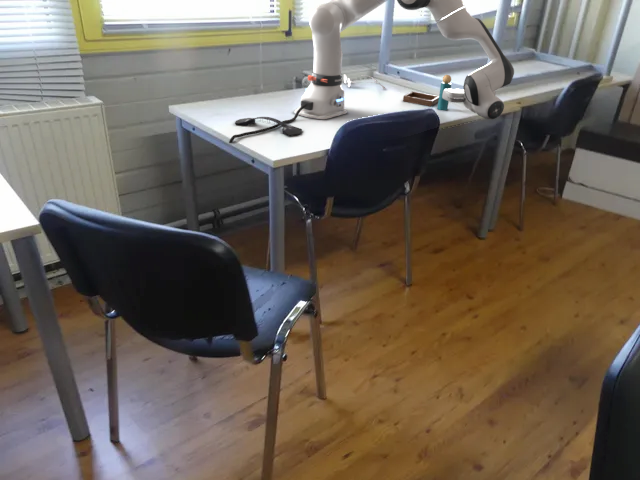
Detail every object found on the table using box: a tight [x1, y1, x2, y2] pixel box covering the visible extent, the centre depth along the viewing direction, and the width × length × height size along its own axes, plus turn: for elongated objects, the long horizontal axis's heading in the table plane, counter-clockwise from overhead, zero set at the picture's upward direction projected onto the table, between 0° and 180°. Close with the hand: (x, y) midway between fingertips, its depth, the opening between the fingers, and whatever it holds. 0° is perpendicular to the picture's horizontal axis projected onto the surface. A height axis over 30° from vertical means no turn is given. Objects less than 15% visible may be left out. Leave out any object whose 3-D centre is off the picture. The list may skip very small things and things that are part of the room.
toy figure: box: [436, 74, 452, 112], centre depth 234 cm, size 4×4×14 cm
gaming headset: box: [234, 116, 303, 137], centre depth 192 cm, size 9×25×3 cm, turn 67°
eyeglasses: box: [343, 74, 387, 90], centre depth 264 cm, size 15×18×4 cm
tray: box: [402, 91, 439, 107], centre depth 246 cm, size 11×13×2 cm
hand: (458, 90), depth 223 cm, fingers open, 8 cm apart
